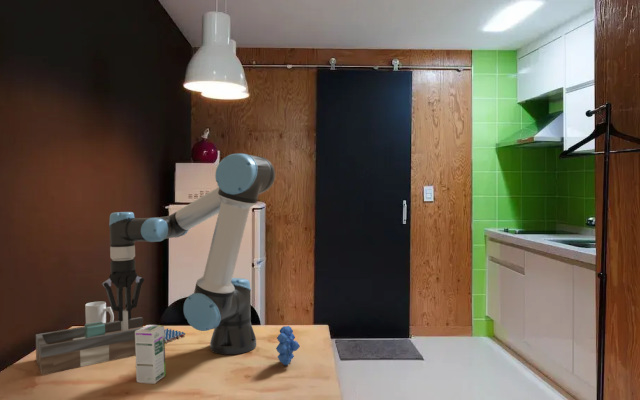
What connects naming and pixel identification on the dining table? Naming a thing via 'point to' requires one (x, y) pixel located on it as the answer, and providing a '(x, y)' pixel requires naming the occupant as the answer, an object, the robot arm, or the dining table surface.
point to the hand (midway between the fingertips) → (124, 330)
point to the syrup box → (150, 354)
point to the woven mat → (172, 335)
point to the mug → (97, 312)
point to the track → (85, 346)
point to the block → (94, 329)
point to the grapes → (286, 345)
